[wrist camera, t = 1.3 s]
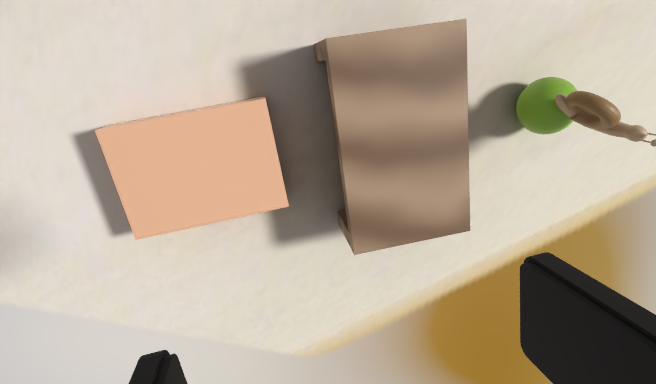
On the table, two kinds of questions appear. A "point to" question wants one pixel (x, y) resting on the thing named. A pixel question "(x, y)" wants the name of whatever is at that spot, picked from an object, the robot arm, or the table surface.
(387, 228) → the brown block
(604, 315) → the robot arm
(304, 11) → the table surface
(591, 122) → the snail figurine
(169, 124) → the peach tile
